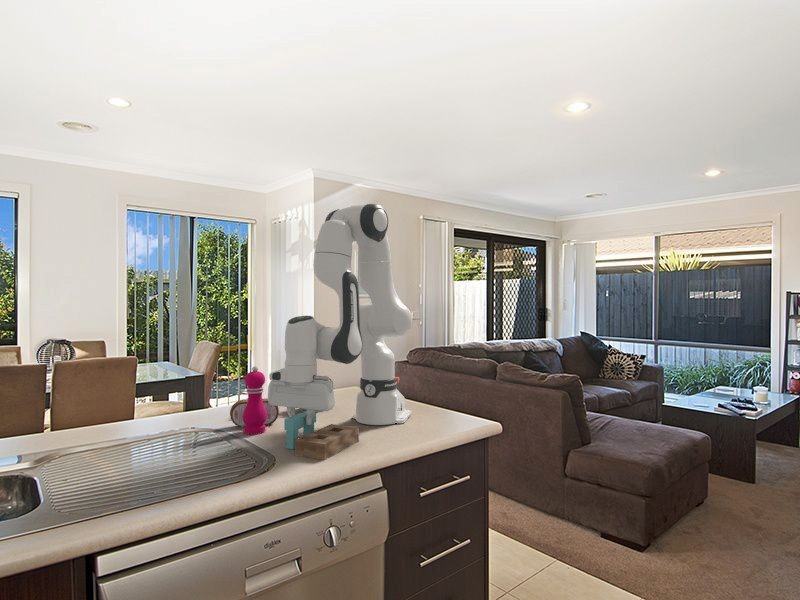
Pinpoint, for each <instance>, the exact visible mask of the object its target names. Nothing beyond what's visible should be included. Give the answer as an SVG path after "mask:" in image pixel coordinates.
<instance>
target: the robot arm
mask: <svg viewBox="0 0 800 600" xmlns="http://www.w3.org/2000/svg"><path fill="white" fill-rule="evenodd" d="M320 226H321V227H320V229H319V232H318V236H317V240H316V243H315V249H314V256H313V265H312V266H313V273H314V275H315V277H316V278H317V279H318V281H319V282H320V283H322V284H323V285H325V286H326V287H329V288H330V289H332V290H333V291H335V293H336V294H337V296H338V301H339V326H338V327H333V326H332V327H331V326H325V325H323V324H321V323H319V322H318V321H317V320H316V319H315V317H314V316H311V315H299V316H295V317H292V318H290V319H289V320H288V321H287V323H286V327H285V333H284V351H285V361H284V368H281V369H278V370H275V371H272V372H270V373H269V376H268V378H269V380H270V381H269V383H268V387H267V399H268V402H269V404H270V405H273V406H278V407H283V408H286V413H287V414H288V415H289V417H292V416H294V415H296V412H295V410H296V409H299V408H301V409H307V413H308V416H307V418H304V425H311V421H312V417H313V415H314V413H315V410H320V411H323V412H329V411H331V410H333V408H334V407H335V404H336V403H335V400H336V399H335V394H334V380H333V379H332V378H330V376H326V375H324V376H323V375H318V373H317V372H318V361H317V360H323V361H331V362H337V363H341V364H345V365H348V364H351V363H353V362H355V361H356V360H357V359H358V358H359V356H360V360H361V361H360V363H361V378H360V379H359V388H360V391H359V392H358V393H357V394H356V407H355V413H354V414H352V418H353V419H354V420H356V422H358V423H360V424H364V425H370V426H386V425H387V426H388V425H393V424H395V423H397V424H404V423H406V421H407V420H408V419H409V418H410V417H411V415H412V413H413V412H412V410H411V409H410V410H409V409H407V408H406V398H405V396H404V395H403V394H402V393H401V392H400V391H399V389H397V388H398V385H397V384H399V383H400V377H399V376H396V374H395V373H396V371H395V367H396V364H395V363H396V362H395V359H396V358H395V354H394V352H393V351H392V349H390V348H389V346H387V344H386V342H385V339H384V337H385V338H396V337H401V336H402V337H403V336H405V335H407V334H408V333H409V332H410V331H411V328H412V327H413V320H414V319H413V316H412V312H411V311H410V309H409V308H408V307H407V306H406V305H405V304H404V303H403V302H402V301H401V299H400V297H399V295H398V293H397V291H396V287H395V283H394V276H393V265H392V263H393V262H392V252H391V245H390V241H389V237H388V234H387V231H388V227H389V218H388V214H387V212H386V210H385V209H384V207H382V206H381V205H380V204H375V203H367V204H357V205H356V204H355V205H351V206H347V207H344V208H337V209H335V210H332V211H330V212H329V213H328V214H327V216H326V217H325V220H324V222H323V223H322V224H321V225H320ZM354 242H355V243H356V244H357V247H358V248H357V252H358V253H357V261H358V263H357V264H358V278H357V276H356V275H355V274H354V272H353V268H352V258H353V256H352V255H353V243H354ZM358 280H359V282H358ZM359 286H360V288H361V290H363V291H364V292H365V293H366V294H367V295H368V297H369V299H370V301H371V303H366V302H364V303H360V294H359V293H360V291H359ZM408 417H409V418H408ZM395 425H396V424H395Z"/></svg>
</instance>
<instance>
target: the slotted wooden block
mask: <svg viewBox="0 0 800 600" xmlns="http://www.w3.org/2000/svg"><path fill="white" fill-rule="evenodd" d="M359 429H360V428H359V426H351V425H343V424H335V423H330V424H328V425H325V426H323V427H322V428H319V429H317V430H314V432H312V433H310V434H308V435H305V436H303V435H302V436H301V437H298V439H296V440H295V449H294V456H297V457H304V458H310V459H317V460H322V461H323V460H324V461H326V460H327V458H328V459H329V458H331V457H333V456H335V455H336V453H337V454H338V453H341V452H342V451H344V450H346V449H347V448H349V447H351V446H353V445H354V443H355V444H356V443H358V442H359V441H360V440H359V436H360V434H359V432H360V431H359ZM357 441H358V442H357ZM352 444H353V445H352ZM350 445H351V446H350ZM345 448H346V449H345ZM343 449H344V450H343Z"/></svg>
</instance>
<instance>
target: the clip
mask: <svg viewBox="0 0 800 600" xmlns="http://www.w3.org/2000/svg"><path fill="white" fill-rule="evenodd" d="M307 416H308V413H307V411H305V412H300V413H297V414H295V415H294V416H292V417H290V416H289V417H286V418H284V423H283V424H284V426H283V427H284V431H286V437H285V438H286V446H285V447H286V449H288V450H295V440H296V439H298V438H299V430H300V429H303V430H302V431H303V435H302V437H303V436H305V435H308V434H310V433H312V432H314V431H315V423H317V413H316V412H315V413H314V415H313V417H312V421H311V425H304V418H307Z"/></svg>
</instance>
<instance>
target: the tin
mask: <svg viewBox="0 0 800 600" xmlns="http://www.w3.org/2000/svg"><path fill="white" fill-rule="evenodd" d="M247 402H248V399H247V398H246V399H239V400H238V401H237V400H236V402H235V403H234V404H233V405H232V406H231V407H230V410H229V416H230V420H231V421H232V423H233V424H234V425H235V426H237V427H240V428H244V427H245V426H246V424H245V423H244V422H243V413H244V410H245V408H246V406H247ZM262 402H263V405H264V407H265V409H266V412H267V420H266V421H265V423H264V425H265V426H266V427H267V426H270V425H272V424H274V423H275V422H276V421H277V419H278V417H279V415H280V410H279V406H273V405H270V404H269V402H268V398H262Z"/></svg>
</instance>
